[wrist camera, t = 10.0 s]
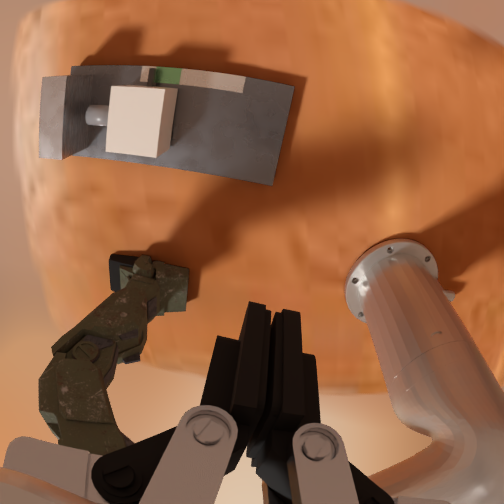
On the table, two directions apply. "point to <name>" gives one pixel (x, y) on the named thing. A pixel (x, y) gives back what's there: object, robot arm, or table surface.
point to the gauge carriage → (137, 118)
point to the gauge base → (174, 119)
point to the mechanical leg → (106, 352)
